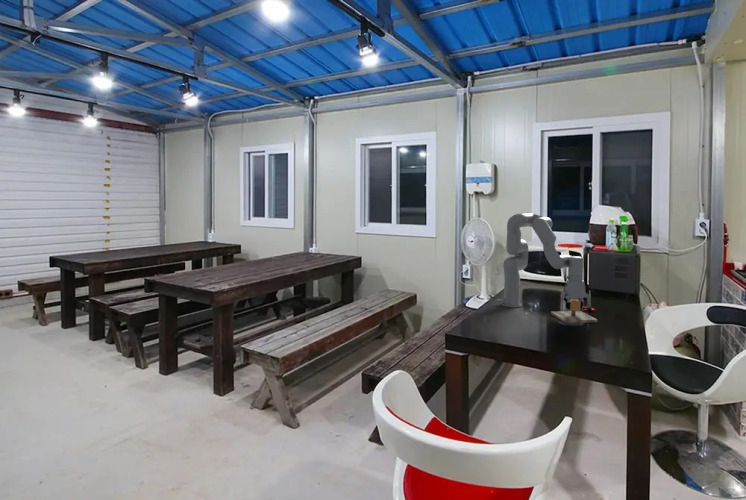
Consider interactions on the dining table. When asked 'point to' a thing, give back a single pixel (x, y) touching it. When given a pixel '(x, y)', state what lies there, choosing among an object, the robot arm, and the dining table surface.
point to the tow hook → (588, 305)
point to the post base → (573, 317)
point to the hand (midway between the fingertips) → (574, 308)
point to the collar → (575, 305)
